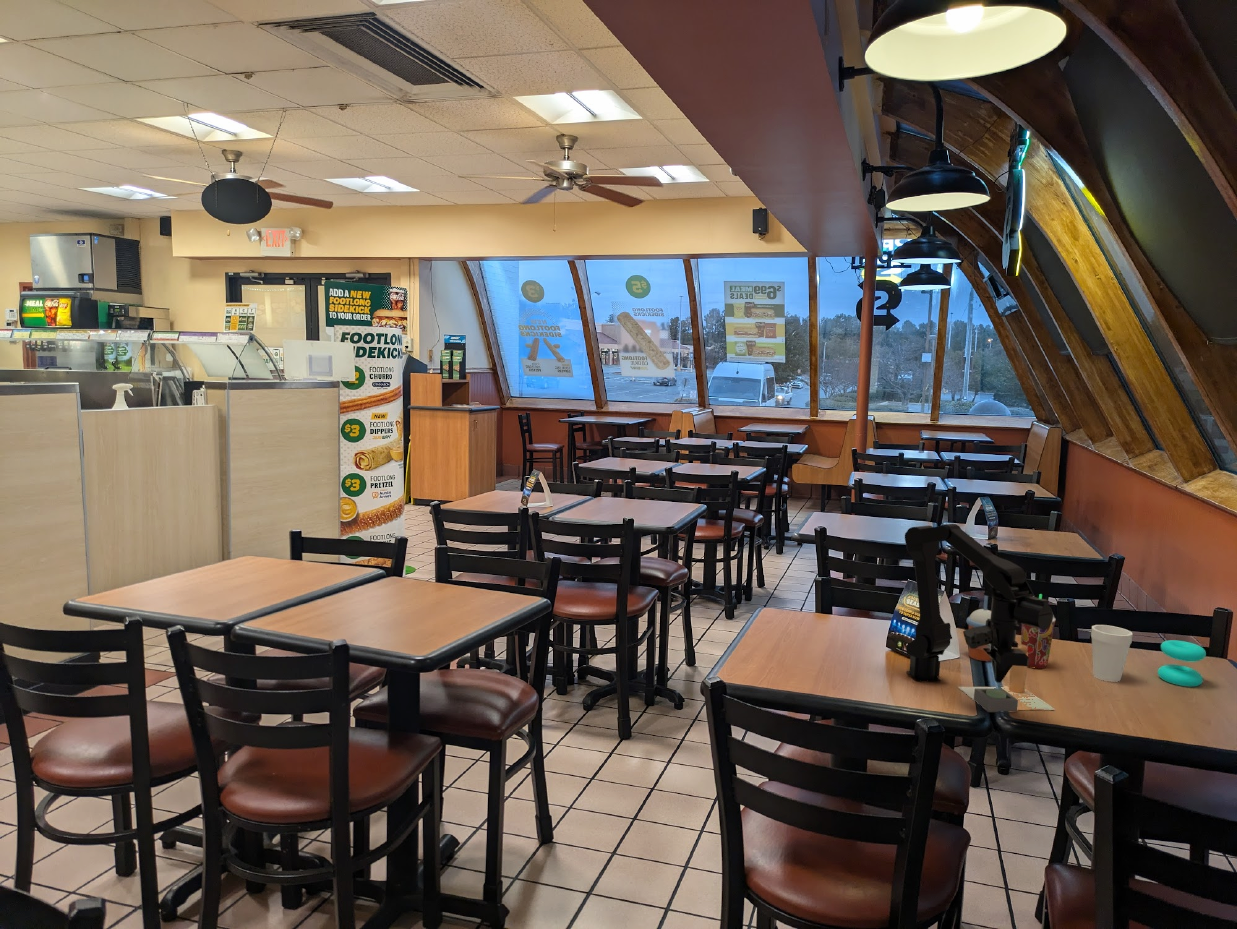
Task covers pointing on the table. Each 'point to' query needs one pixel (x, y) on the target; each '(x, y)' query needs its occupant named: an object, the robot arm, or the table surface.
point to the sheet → (1003, 699)
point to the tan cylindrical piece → (1018, 674)
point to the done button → (995, 693)
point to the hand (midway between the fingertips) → (997, 681)
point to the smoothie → (1037, 643)
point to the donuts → (1178, 672)
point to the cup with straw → (978, 620)
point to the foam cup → (1109, 651)
